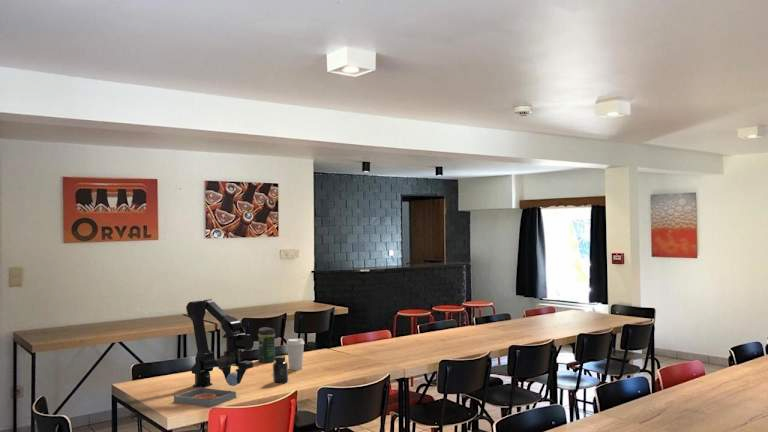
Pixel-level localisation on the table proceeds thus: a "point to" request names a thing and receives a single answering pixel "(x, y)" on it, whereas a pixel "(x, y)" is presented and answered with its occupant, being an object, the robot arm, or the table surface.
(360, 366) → the table surface
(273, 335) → the coffee jar
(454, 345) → the table surface
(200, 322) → the robot arm
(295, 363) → the coffee cup
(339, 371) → the table surface
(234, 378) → the ball
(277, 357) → the supplement bottle
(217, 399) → the grey rectangular frame
